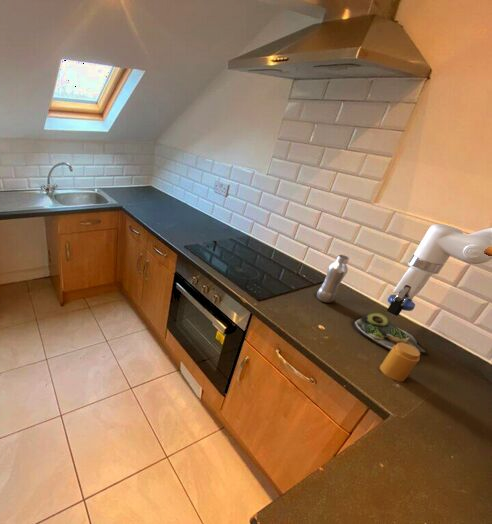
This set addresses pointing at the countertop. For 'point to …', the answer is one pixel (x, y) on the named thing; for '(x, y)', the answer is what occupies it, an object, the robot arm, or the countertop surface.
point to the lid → (407, 306)
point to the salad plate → (384, 331)
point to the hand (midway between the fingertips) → (396, 309)
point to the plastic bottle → (333, 279)
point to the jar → (400, 361)
